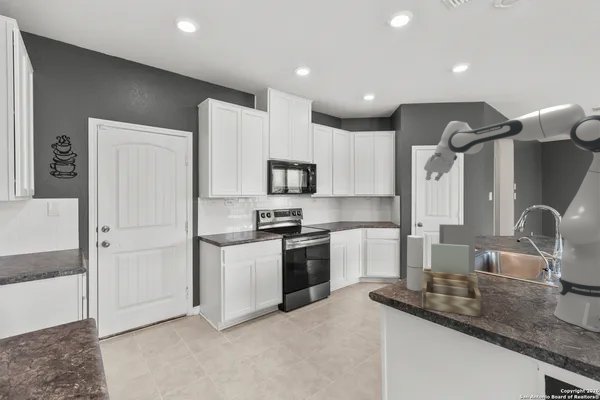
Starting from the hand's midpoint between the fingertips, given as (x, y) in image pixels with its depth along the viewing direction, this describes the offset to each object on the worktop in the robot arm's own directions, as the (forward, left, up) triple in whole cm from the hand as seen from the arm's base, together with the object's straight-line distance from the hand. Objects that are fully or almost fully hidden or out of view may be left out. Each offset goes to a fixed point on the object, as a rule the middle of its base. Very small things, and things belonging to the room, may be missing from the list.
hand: (432, 180), depth 142 cm
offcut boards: (-7, +30, -52) cm, 61 cm away
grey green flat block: (-7, +23, -52) cm, 58 cm away
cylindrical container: (+7, +13, -52) cm, 54 cm away
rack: (-7, +27, -52) cm, 59 cm away
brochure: (-11, +2, -52) cm, 53 cm away
